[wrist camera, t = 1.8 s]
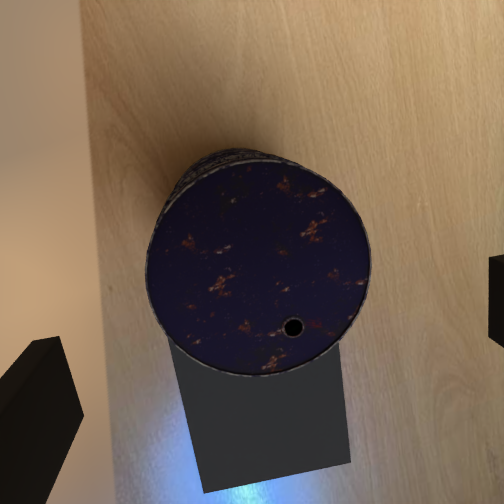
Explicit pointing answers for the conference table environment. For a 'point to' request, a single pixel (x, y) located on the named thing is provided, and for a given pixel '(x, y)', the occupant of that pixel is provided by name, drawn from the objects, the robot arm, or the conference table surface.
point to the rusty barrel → (256, 264)
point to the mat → (263, 421)
